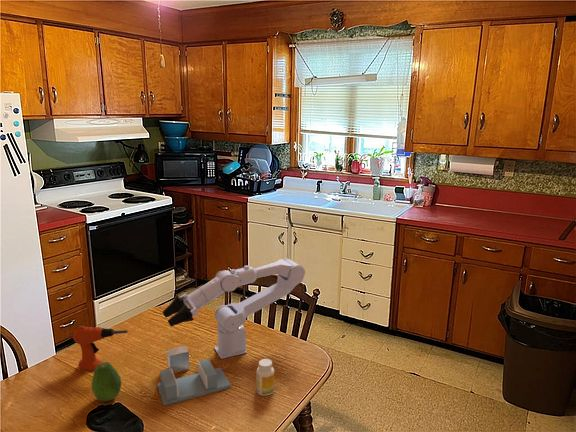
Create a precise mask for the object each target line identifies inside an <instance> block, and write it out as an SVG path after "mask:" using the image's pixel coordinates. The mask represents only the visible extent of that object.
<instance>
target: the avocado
mask: <svg viewBox="0 0 576 432" xmlns="http://www.w3.org/2000/svg"><path fill="white" fill-rule="evenodd" d="M121 379H122V377H121V376H120V374H119V372H118V371H117V369H115V367H114V366H113V365H112V364H111V362H108V361H103V362H102V363H100V364H99V365H98V366H97V367H96V368H95V371H93V375H92V380H91V389H92V390H91V391H92V393H93V394H94V397H95V398H96V399H97V400H98V401H100V402H109V401H112V400H113V399H115V398H116V397H117V396H118V395H119V394H120V391H121V388H122V380H121Z"/></svg>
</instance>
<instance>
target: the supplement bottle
mask: <svg viewBox="0 0 576 432" xmlns="http://www.w3.org/2000/svg"><path fill="white" fill-rule="evenodd" d="M255 371H256V372H255V373H256V382H255V383H256V384H255V385H256V387H255V388H256V393H257V394H258V395H259V396H270V395H272V394H273V393H274V391H275V368H274V367H273V361H272V360H271V359H270V358H269V359H268V358H262V359H260V360H259V361H258V367H257V369H256V370H255Z"/></svg>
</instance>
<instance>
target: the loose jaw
mask: <svg viewBox="0 0 576 432" xmlns="http://www.w3.org/2000/svg"><path fill="white" fill-rule="evenodd" d="M197 368H198V373H199V375H200V377H201V379H202V381H203V383H204V385H205V387H206V389H211V388H215V387H217V373H216V371H215V370H214V369H215V368H214V366H213V364H212V363H211V360H210V359H209V358H207V359H203V360H199V361H197Z"/></svg>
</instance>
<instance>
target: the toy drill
mask: <svg viewBox="0 0 576 432" xmlns="http://www.w3.org/2000/svg"><path fill="white" fill-rule="evenodd" d="M127 333H128V330H127V329H124V330H123V329H122V330H114V329H112V328H105V327H101V326H94V327H93V326H84V325H80V326H79V327H78V328H77V329H76V330H74V332H73V335H72V338H73V341H74V342H75V343H76V344H77V345H80V346H79V347H80V348H81V359H80V360H79V361H78V369H79V370H81V371H86V372H88V371H89V372H94V371H95V368H96V367H97V366H98V365H99V364H100V363H102V362H104V361H103V360H100V359H98V358H97V356H96V354H97V353H98V352H99V350H100V349H99V348H98V347H97V345H96V343H94V342H97V341H101V340H102V339H103V340H105V338H109V337H113V336H114V335H118V334H127Z"/></svg>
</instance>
